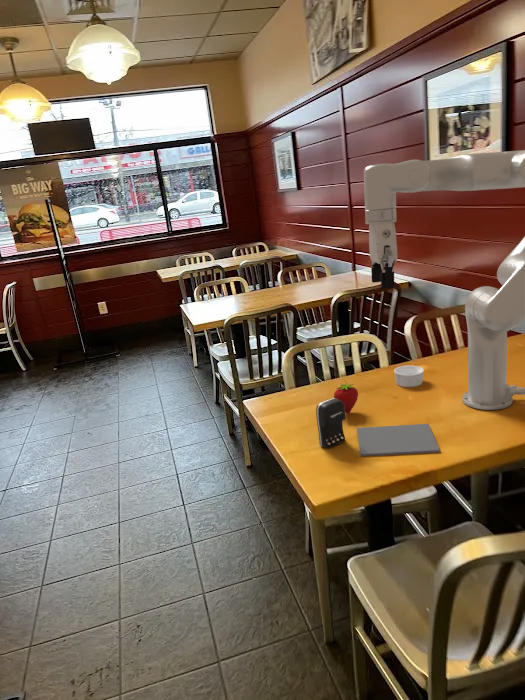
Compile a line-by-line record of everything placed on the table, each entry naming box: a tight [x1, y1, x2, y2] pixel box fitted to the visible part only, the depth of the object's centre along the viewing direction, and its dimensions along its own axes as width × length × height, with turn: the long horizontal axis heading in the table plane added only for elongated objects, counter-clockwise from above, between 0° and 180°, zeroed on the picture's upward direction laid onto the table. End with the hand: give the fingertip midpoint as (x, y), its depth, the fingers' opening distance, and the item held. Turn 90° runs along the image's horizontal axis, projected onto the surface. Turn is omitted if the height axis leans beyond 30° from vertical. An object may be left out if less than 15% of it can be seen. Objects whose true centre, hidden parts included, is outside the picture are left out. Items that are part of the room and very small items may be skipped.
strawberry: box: [333, 379, 359, 414], centre depth 144 cm, size 6×8×10 cm
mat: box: [356, 423, 441, 457], centre depth 127 cm, size 18×14×1 cm
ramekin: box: [393, 364, 425, 388], centre depth 161 cm, size 9×9×4 cm
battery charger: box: [315, 397, 347, 449], centre depth 128 cm, size 7×4×11 cm, turn 123°
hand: (382, 284), depth 134 cm, fingers open, 9 cm apart
